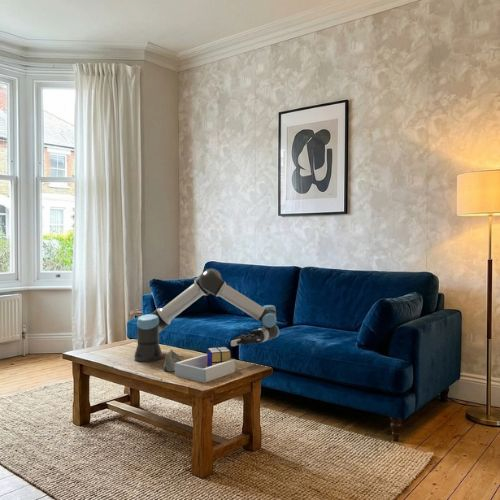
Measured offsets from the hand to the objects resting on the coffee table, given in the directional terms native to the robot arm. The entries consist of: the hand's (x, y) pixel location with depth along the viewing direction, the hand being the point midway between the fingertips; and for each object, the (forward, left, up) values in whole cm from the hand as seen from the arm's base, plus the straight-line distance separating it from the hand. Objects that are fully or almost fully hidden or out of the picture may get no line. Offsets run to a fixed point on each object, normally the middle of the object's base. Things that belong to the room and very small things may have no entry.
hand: (231, 343), depth 254 cm
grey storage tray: (+14, -14, -11) cm, 23 cm away
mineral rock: (+2, -30, -12) cm, 33 cm away
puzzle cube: (+7, -7, -12) cm, 15 cm away
